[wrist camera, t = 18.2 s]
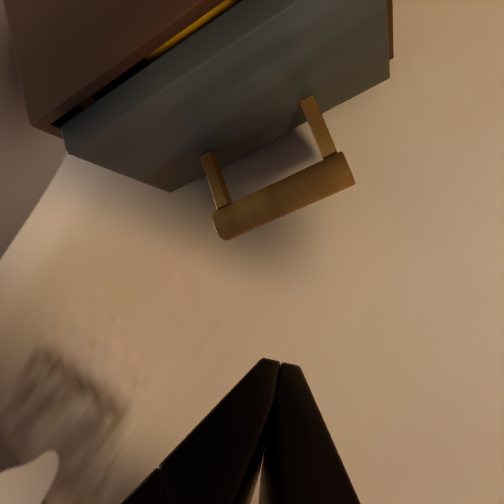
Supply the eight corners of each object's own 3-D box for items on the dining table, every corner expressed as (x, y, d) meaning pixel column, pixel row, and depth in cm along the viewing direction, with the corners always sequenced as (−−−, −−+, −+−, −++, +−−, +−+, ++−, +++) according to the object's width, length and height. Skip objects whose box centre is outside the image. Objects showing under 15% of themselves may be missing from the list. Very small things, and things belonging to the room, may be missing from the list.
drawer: (430, 163, 14) (454, 77, 8) (191, 265, 18) (89, 258, 12) (288, -140, 18) (232, -356, 12) (113, 0, 22) (5, -107, 16)
